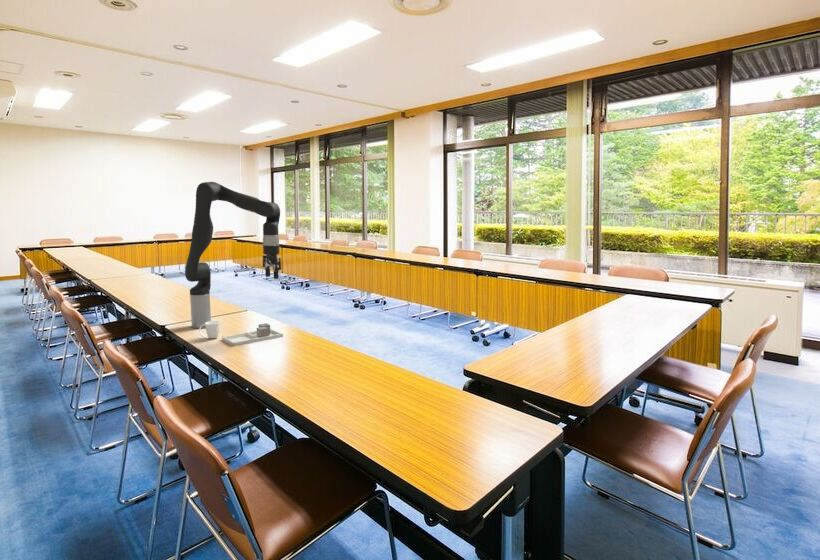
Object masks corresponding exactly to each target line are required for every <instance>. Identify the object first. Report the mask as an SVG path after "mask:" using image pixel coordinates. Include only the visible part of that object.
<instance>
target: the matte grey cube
mask: <svg viewBox="0 0 820 560" xmlns="http://www.w3.org/2000/svg"><path fill="white" fill-rule="evenodd" d="M259 327H267V328H268V331H269V335H270V329H271V325H270V323H267V322H266V323H260V324H258V328H259Z"/></svg>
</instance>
